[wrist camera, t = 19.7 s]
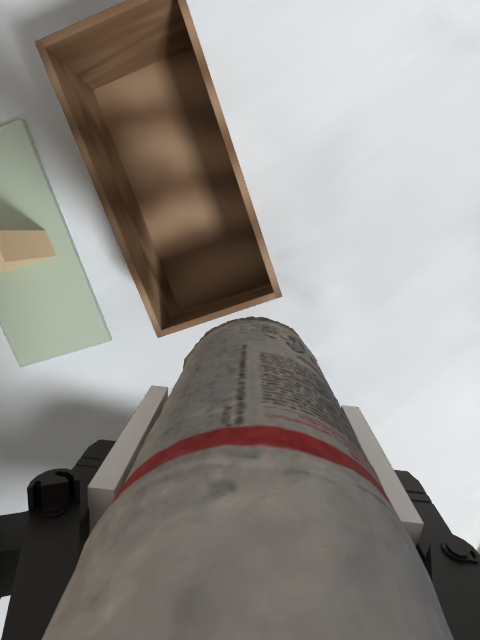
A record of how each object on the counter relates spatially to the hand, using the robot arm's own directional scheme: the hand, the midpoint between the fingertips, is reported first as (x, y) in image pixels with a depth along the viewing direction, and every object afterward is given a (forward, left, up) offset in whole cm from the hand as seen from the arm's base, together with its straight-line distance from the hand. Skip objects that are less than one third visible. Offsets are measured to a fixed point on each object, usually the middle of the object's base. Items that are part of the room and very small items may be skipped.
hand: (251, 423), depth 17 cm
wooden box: (+15, +3, -28) cm, 32 cm away
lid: (+15, +24, -28) cm, 40 cm away
